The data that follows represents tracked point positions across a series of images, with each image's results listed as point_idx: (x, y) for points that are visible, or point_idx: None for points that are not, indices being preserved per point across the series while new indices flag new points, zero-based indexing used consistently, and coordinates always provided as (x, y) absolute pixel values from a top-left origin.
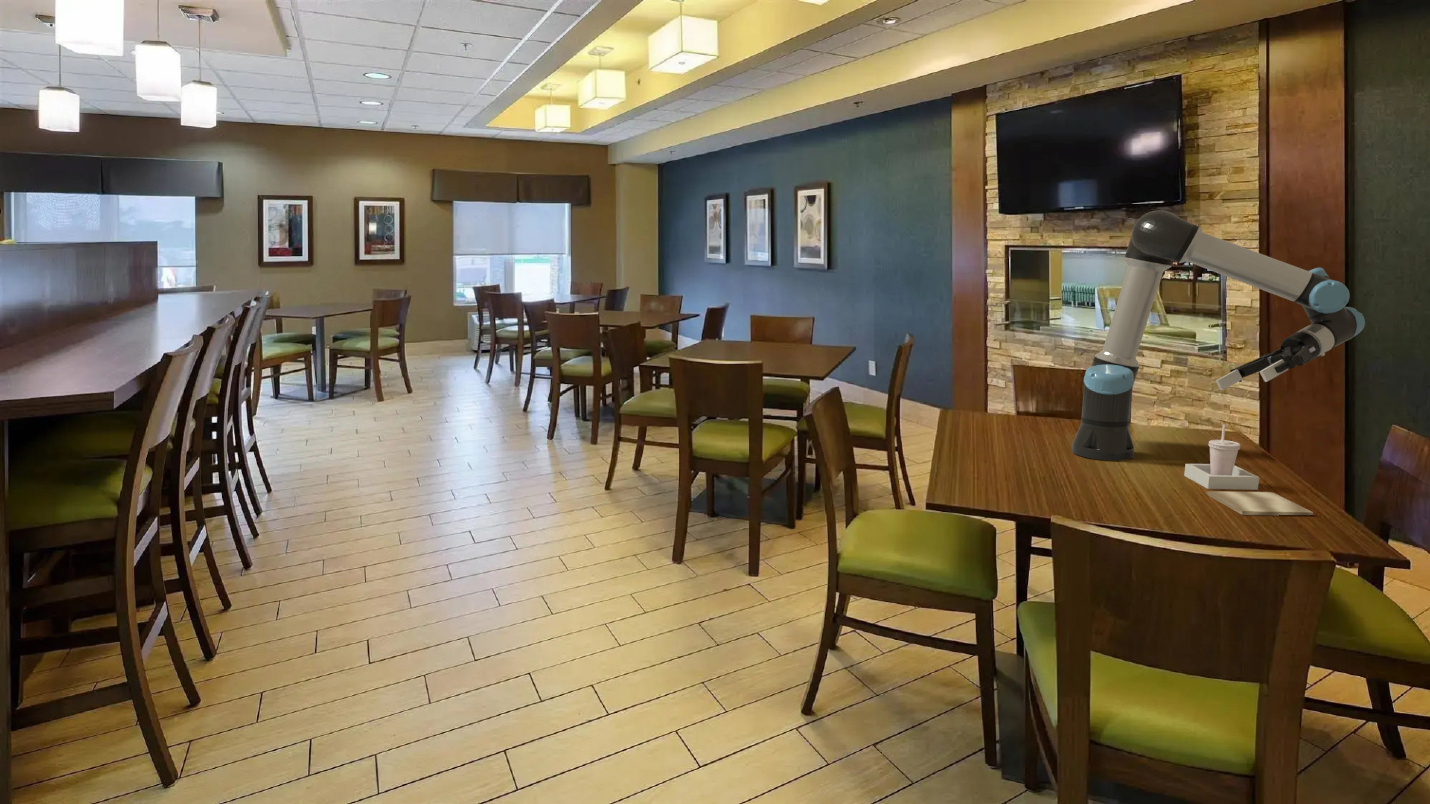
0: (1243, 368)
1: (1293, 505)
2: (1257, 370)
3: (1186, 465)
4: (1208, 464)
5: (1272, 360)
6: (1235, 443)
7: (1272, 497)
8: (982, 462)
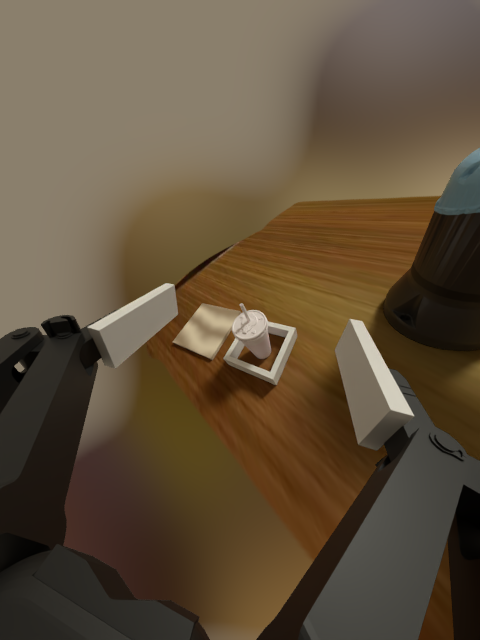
0: (396, 459)
1: (186, 342)
2: (330, 537)
3: (293, 328)
4: (283, 349)
5: (190, 618)
6: (241, 334)
7: (203, 345)
8: (388, 214)
